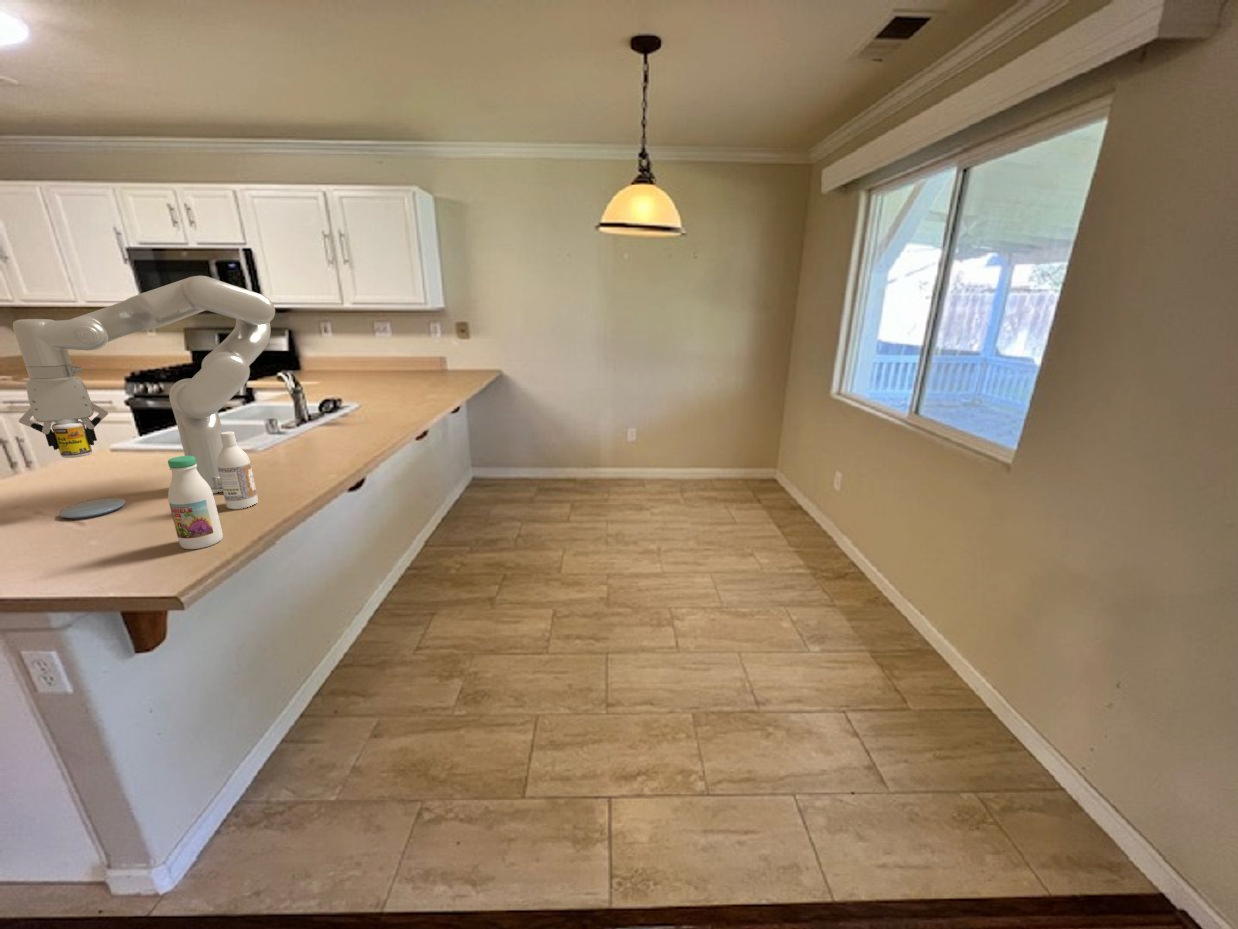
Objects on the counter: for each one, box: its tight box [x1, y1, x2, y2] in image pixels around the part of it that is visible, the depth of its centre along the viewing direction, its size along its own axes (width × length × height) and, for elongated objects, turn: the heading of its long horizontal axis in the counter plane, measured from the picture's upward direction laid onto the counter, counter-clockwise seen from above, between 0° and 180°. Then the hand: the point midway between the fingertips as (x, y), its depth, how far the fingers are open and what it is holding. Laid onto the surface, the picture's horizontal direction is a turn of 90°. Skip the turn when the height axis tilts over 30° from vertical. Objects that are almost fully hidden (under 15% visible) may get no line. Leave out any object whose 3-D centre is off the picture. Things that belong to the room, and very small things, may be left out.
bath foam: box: [217, 430, 259, 510], centre depth 135 cm, size 7×7×20 cm
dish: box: [58, 497, 126, 520], centre depth 132 cm, size 12×12×1 cm
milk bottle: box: [167, 455, 224, 550], centre depth 113 cm, size 8×8×20 cm
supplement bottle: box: [51, 419, 93, 459], centre depth 127 cm, size 6×6×10 cm
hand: (74, 445), depth 127 cm, fingers closed on supplement bottle, 5 cm apart
